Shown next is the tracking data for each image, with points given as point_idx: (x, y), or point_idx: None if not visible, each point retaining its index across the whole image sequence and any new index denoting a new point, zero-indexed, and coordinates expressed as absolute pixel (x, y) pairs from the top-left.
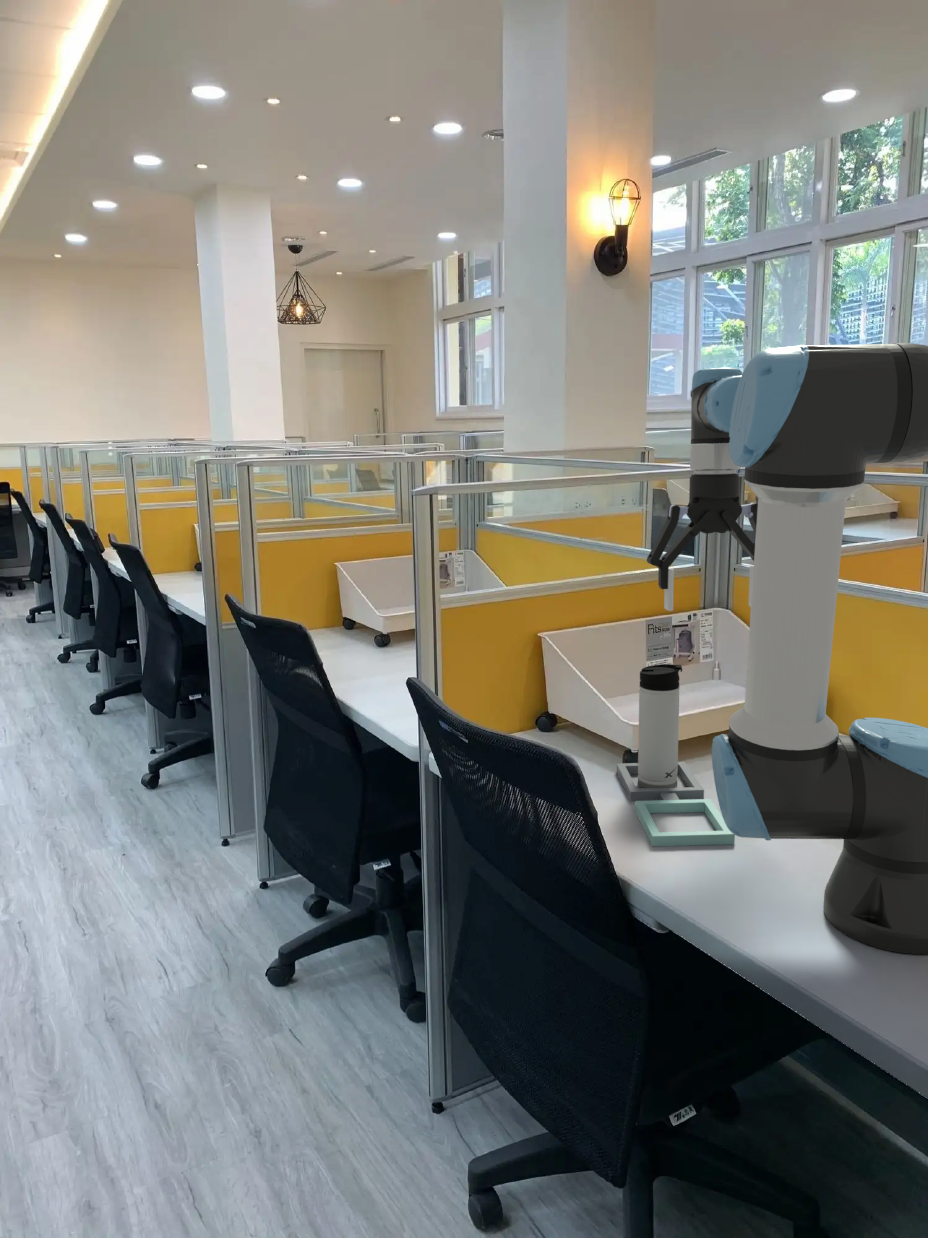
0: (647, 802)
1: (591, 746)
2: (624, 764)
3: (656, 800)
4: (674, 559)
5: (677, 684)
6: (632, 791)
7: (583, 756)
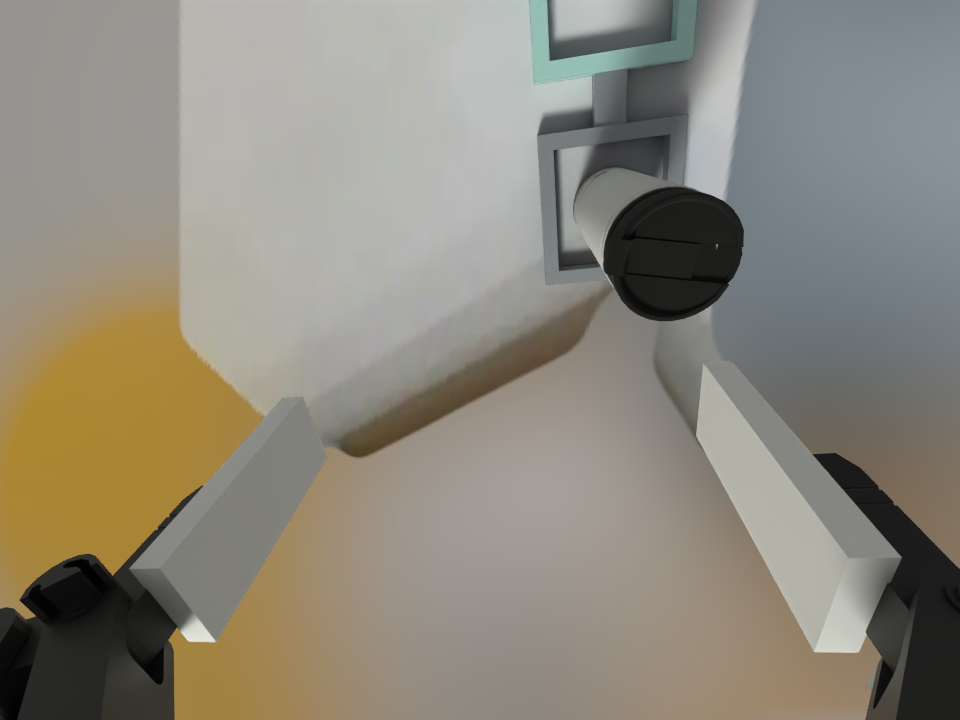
0: (668, 49)
1: (684, 389)
2: None
3: (646, 64)
4: (915, 670)
5: (617, 222)
6: (683, 117)
7: (712, 344)
